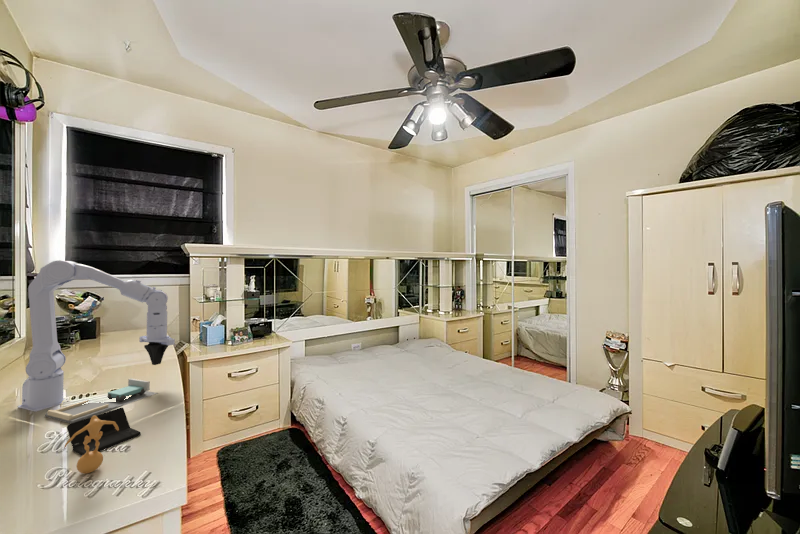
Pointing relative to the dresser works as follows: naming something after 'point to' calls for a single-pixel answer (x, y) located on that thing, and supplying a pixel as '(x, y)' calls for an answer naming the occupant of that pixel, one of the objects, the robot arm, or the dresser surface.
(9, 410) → the dresser surface
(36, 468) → the dresser surface
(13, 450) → the dresser surface
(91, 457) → the figurine
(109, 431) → the handheld gaming console
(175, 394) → the dresser surface
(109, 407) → the dock
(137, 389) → the grey teal-panelled part
